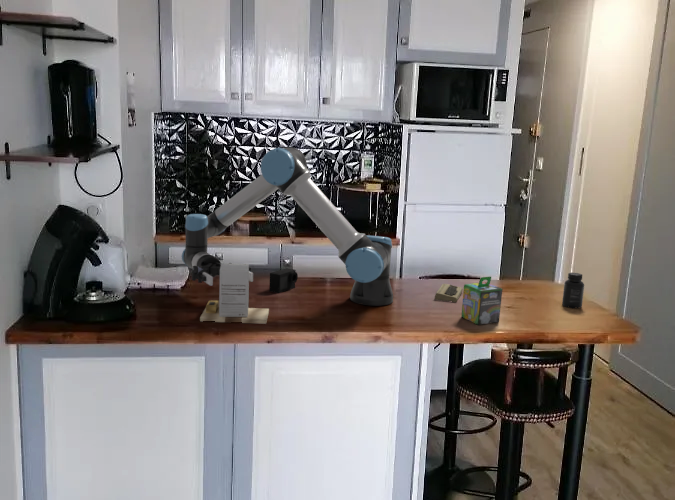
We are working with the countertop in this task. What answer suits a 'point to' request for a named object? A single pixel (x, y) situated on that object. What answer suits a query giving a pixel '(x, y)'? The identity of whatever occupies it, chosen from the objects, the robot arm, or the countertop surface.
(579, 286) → the supplement bottle
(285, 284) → the digital camera
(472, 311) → the chalk box
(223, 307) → the supplement box
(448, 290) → the tan flat block
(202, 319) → the plywood board
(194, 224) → the robot arm
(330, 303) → the countertop surface
